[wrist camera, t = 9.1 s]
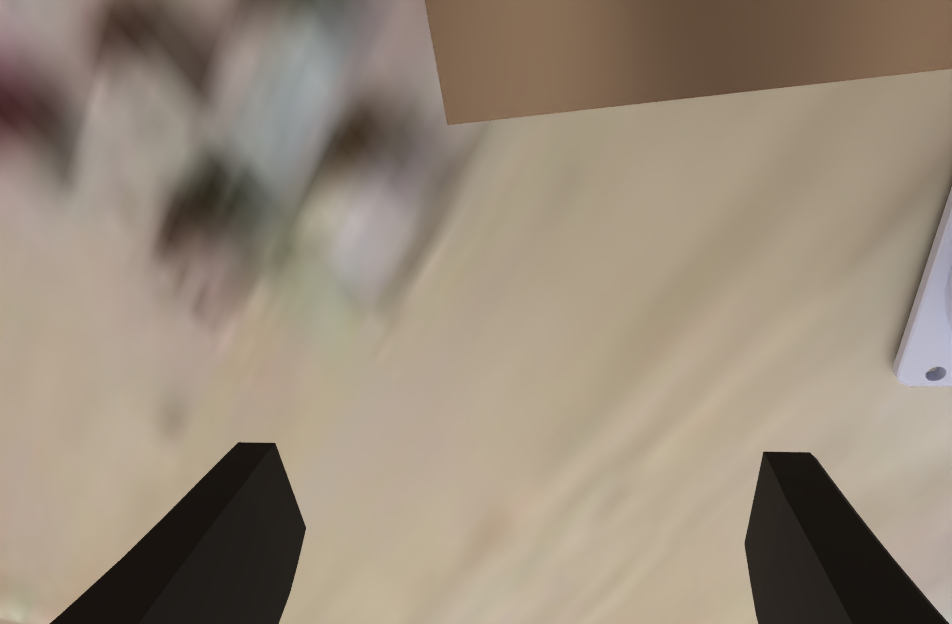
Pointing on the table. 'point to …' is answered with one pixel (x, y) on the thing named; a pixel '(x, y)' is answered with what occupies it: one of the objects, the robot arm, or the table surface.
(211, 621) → the robot arm
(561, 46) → the walnut block
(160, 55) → the table surface
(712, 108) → the table surface
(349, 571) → the table surface
